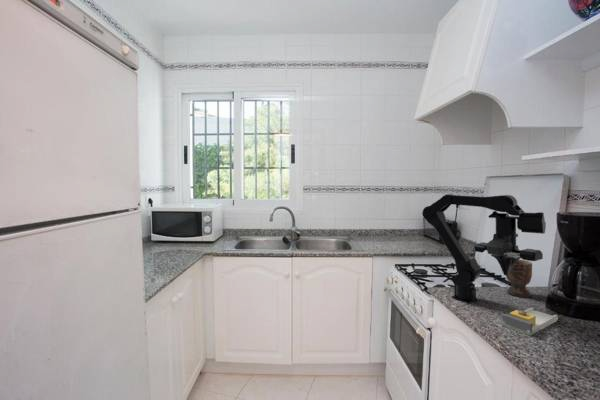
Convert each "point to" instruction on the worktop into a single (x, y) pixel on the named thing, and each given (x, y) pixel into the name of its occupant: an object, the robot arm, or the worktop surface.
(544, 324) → the rail
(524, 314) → the carriage
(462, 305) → the worktop surface
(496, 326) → the worktop surface
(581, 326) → the worktop surface
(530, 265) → the mortar and pestle
